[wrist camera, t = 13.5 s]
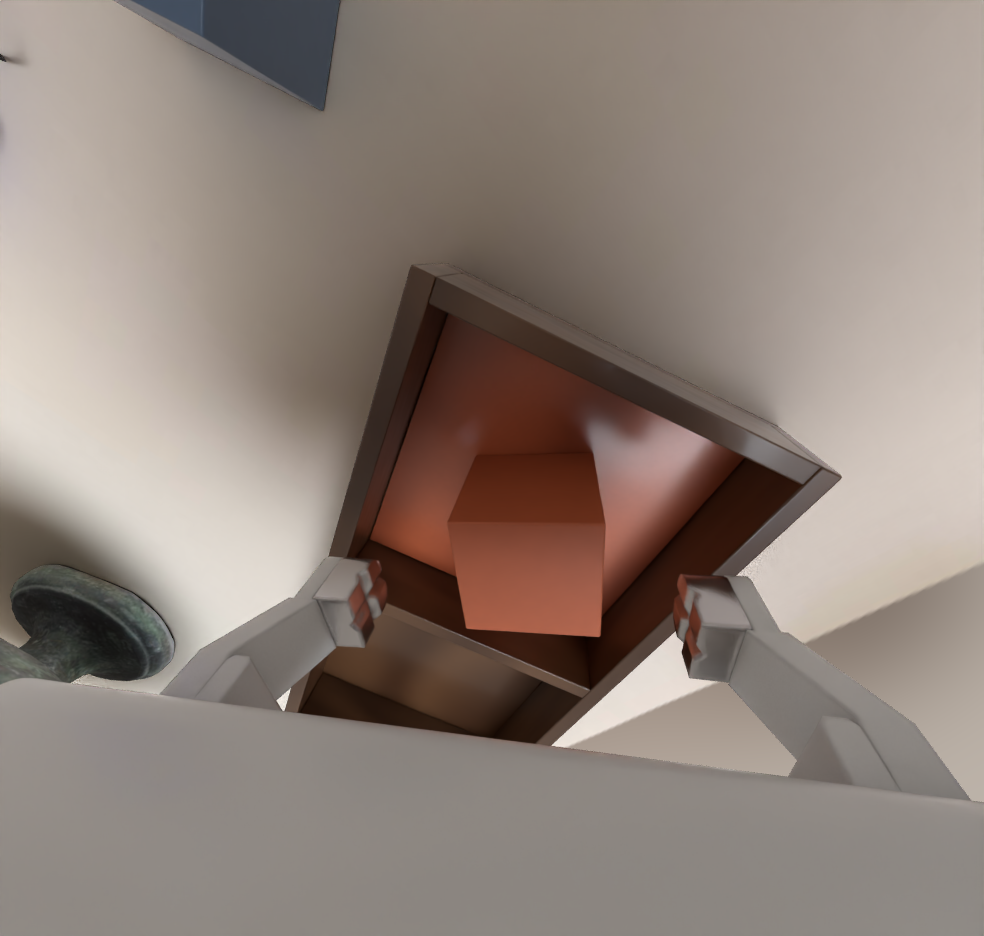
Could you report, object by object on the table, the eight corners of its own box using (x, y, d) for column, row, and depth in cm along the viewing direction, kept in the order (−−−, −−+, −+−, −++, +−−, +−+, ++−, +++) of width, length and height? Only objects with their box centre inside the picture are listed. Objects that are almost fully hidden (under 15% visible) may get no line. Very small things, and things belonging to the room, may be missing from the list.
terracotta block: (475, 454, 15) (445, 522, 11) (593, 452, 14) (606, 524, 11) (487, 545, 17) (465, 629, 13) (591, 548, 17) (600, 638, 13)
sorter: (315, 664, 25) (281, 722, 22) (446, 262, 13) (410, 263, 10) (496, 739, 26) (487, 804, 23) (780, 427, 14) (844, 477, 11)
